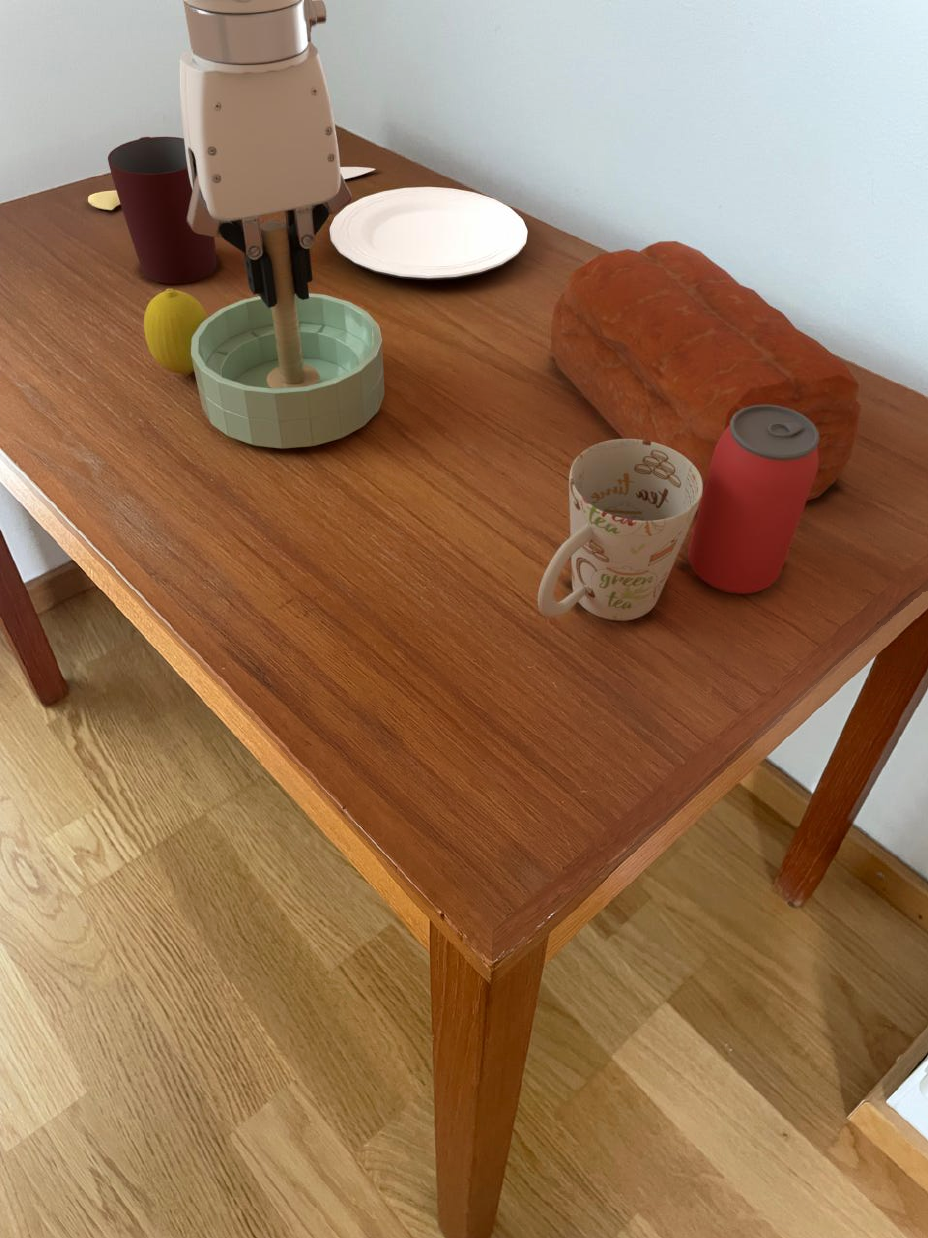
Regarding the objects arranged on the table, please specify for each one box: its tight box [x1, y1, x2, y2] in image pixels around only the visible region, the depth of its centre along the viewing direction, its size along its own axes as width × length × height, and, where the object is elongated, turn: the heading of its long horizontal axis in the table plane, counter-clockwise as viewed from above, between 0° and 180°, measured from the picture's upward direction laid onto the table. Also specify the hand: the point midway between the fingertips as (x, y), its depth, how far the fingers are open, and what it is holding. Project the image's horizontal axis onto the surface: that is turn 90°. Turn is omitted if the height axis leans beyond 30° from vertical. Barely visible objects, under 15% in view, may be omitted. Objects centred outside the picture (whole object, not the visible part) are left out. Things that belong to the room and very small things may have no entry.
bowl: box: [191, 292, 385, 449], centre depth 80 cm, size 15×15×6 cm
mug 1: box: [107, 136, 217, 285], centre depth 95 cm, size 12×9×11 cm
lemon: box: [143, 288, 209, 377], centre depth 82 cm, size 6×6×8 cm
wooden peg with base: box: [259, 219, 320, 389], centre depth 76 cm, size 4×4×14 cm
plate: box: [329, 186, 528, 282], centre depth 102 cm, size 21×21×2 cm
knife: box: [87, 166, 376, 211], centre depth 110 cm, size 1×33×4 cm
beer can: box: [687, 404, 819, 595], centre depth 65 cm, size 7×7×12 cm
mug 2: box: [537, 438, 703, 622], centre depth 63 cm, size 8×13×10 cm, turn 137°
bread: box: [550, 240, 862, 513], centre depth 78 cm, size 16×27×11 cm, turn 24°
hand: (282, 293), depth 75 cm, fingers closed on wooden peg with base, 2 cm apart
